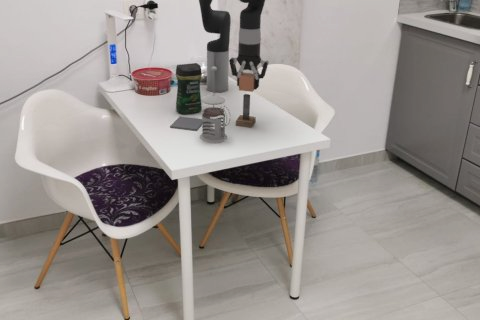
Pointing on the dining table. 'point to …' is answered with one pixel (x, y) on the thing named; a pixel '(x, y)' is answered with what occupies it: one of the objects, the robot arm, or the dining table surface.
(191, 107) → the coffee jar
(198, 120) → the mat
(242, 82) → the orange cube
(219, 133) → the french press
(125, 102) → the dining table surface
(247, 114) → the post stand
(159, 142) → the dining table surface
